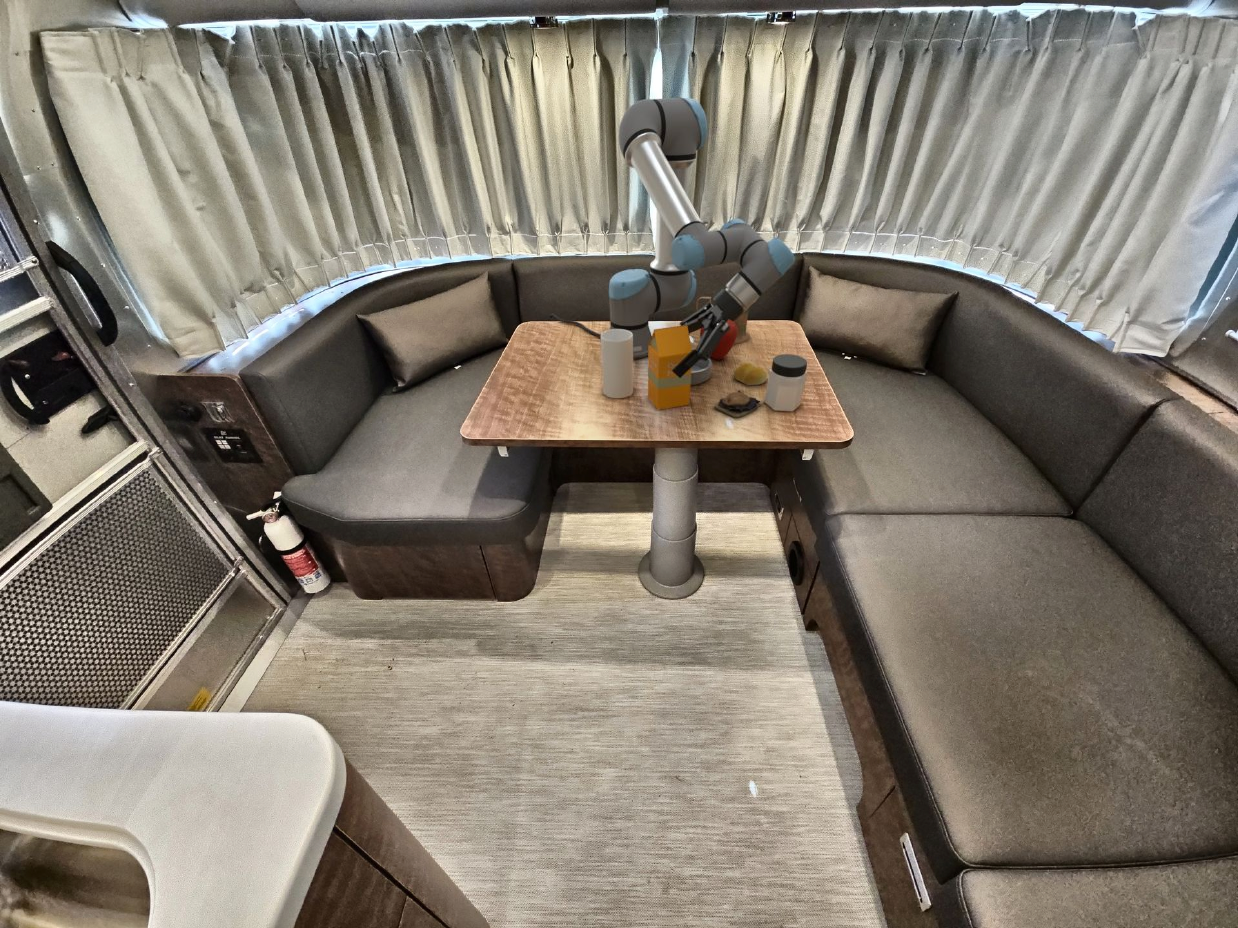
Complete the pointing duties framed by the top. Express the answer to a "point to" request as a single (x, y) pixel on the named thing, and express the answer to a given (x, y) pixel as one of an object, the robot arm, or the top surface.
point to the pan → (701, 371)
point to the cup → (617, 363)
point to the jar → (786, 382)
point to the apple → (724, 341)
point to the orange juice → (668, 367)
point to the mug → (736, 323)
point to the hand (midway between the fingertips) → (670, 362)
